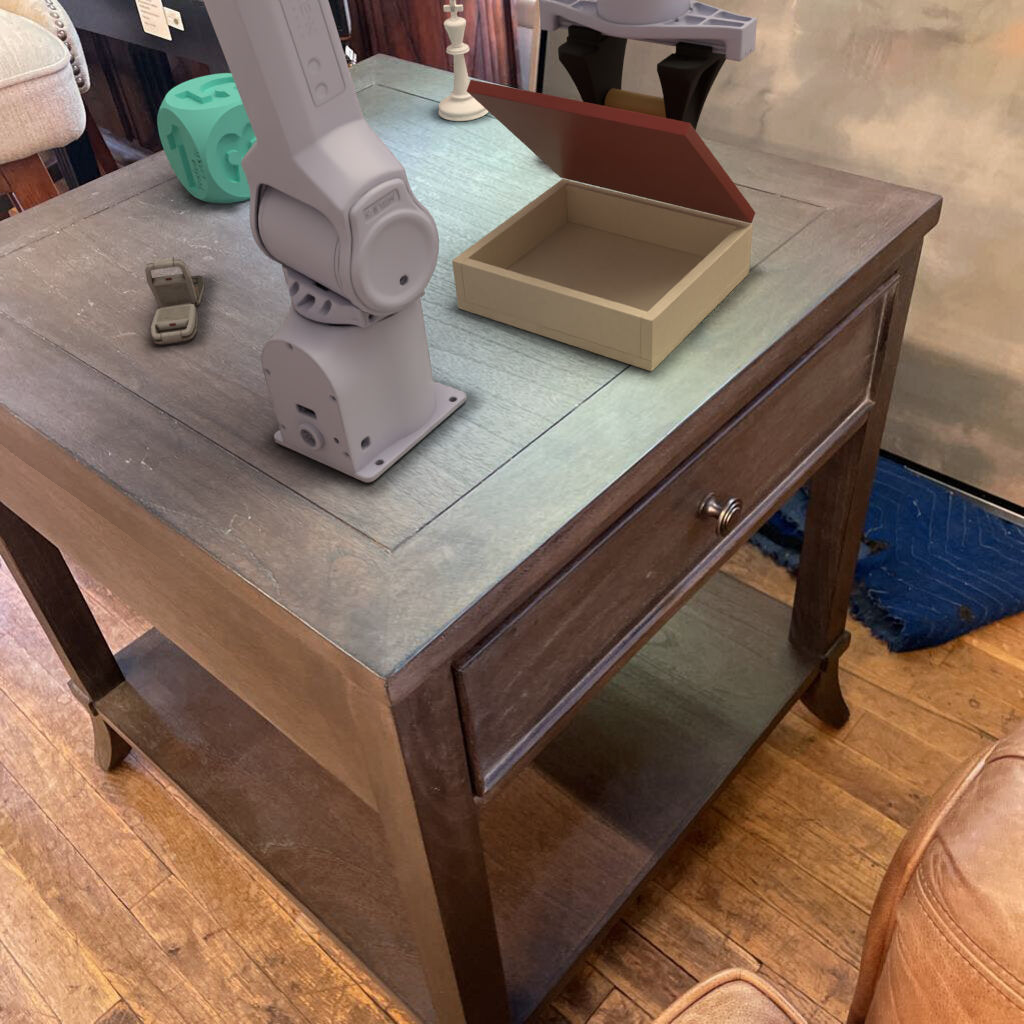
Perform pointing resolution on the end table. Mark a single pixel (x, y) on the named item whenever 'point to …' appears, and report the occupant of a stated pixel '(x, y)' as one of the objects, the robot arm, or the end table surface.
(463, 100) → the chess piece
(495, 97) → the cover
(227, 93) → the decorative dice
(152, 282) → the strap clip
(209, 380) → the end table surface
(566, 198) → the hinged lid box
